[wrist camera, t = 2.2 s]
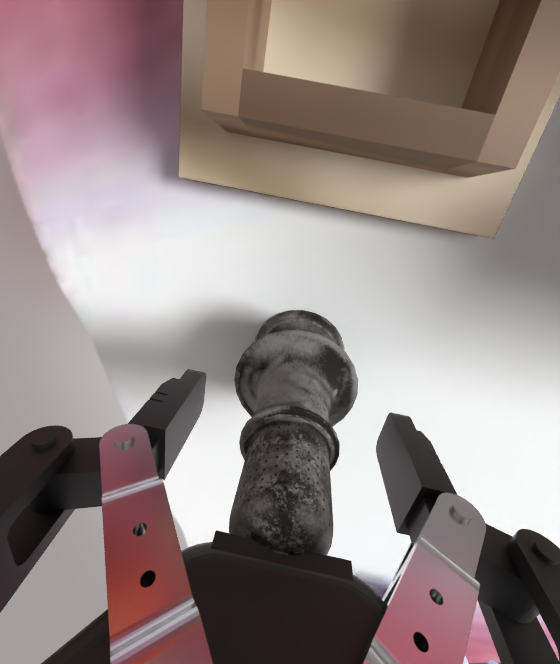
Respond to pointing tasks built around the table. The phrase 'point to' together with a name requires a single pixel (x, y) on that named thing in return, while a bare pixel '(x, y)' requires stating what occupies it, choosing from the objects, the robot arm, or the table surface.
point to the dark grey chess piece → (291, 432)
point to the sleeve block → (370, 102)
